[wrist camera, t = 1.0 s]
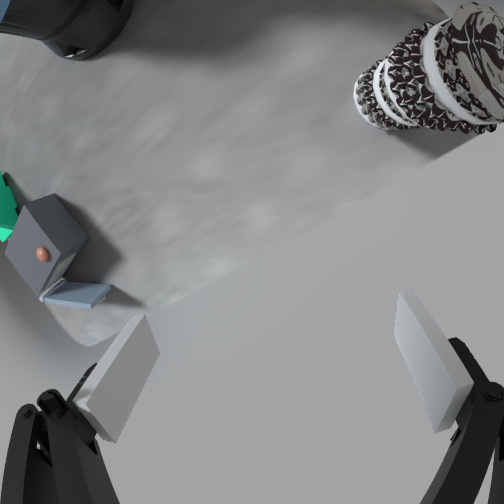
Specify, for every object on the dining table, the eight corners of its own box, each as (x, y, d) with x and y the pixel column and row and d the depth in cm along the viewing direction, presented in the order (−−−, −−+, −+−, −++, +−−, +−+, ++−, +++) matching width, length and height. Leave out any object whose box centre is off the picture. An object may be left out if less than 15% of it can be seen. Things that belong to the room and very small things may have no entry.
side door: (59, 279, 45) (38, 296, 39) (111, 283, 44) (90, 303, 38) (61, 286, 46) (41, 303, 39) (113, 290, 44) (93, 311, 38)
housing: (29, 242, 43) (0, 259, 36) (54, 193, 39) (20, 205, 32) (60, 282, 45) (34, 303, 38) (90, 237, 41) (59, 256, 34)
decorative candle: (388, 147, 33) (529, 173, 10) (335, 96, 31) (429, 28, 8) (426, 103, 30) (570, 90, 6) (377, 53, 28) (488, -30, 5)
